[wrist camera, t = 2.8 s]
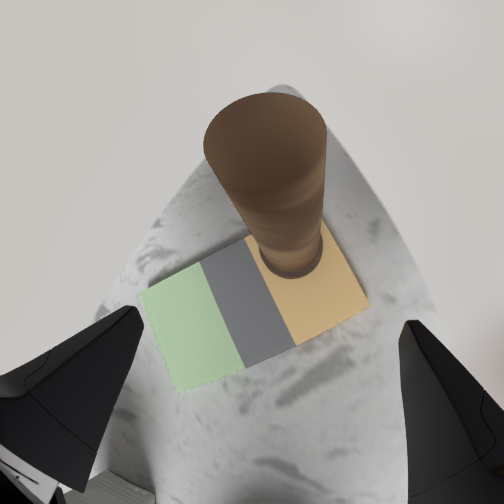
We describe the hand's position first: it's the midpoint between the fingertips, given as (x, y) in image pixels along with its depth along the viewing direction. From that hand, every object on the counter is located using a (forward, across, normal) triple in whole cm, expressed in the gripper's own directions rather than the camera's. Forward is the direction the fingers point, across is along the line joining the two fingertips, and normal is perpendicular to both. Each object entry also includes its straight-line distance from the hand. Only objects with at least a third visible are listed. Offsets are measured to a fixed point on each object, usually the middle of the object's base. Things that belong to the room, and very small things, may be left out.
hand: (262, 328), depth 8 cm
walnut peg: (+12, 0, +4) cm, 13 cm away
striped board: (+10, +3, +8) cm, 13 cm away
